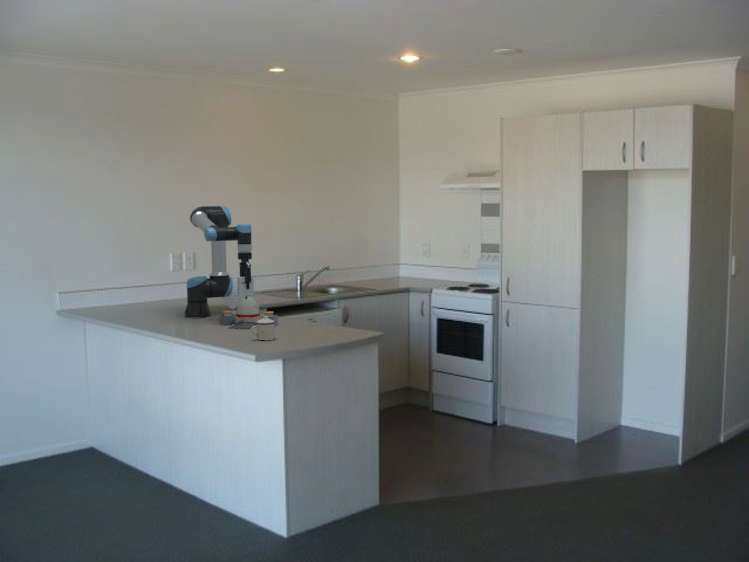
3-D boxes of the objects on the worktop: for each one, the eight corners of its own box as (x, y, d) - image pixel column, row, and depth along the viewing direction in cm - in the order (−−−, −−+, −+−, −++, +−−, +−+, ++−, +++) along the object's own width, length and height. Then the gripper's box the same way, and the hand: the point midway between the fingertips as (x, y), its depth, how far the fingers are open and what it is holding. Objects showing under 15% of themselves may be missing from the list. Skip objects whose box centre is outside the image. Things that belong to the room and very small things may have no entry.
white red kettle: (262, 314, 489) (261, 289, 487) (256, 317, 475) (256, 292, 473) (239, 314, 490) (238, 289, 488) (233, 317, 476) (232, 292, 475)
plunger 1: (225, 320, 454) (225, 310, 454) (233, 320, 454) (233, 310, 453) (222, 322, 450) (221, 311, 449) (230, 322, 449) (230, 311, 448)
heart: (211, 308, 517) (210, 273, 515) (233, 305, 527) (232, 271, 524) (232, 312, 495) (231, 276, 493) (254, 310, 505) (254, 274, 502)
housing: (225, 322, 458) (225, 313, 458) (278, 323, 453) (278, 314, 452) (217, 325, 447) (217, 316, 446) (272, 326, 441) (272, 317, 441)
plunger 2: (266, 321, 450) (266, 311, 450) (274, 321, 449) (274, 311, 449) (263, 323, 446) (263, 312, 445) (272, 323, 445) (272, 312, 444)
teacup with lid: (271, 337, 408) (271, 314, 407) (277, 340, 400) (277, 316, 399) (248, 339, 403) (248, 316, 402) (254, 342, 395) (253, 318, 394)
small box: (252, 295, 448) (251, 276, 447) (254, 296, 443) (253, 277, 442) (237, 295, 445) (237, 276, 444) (239, 297, 440) (239, 277, 439)
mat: (234, 326, 444) (234, 324, 444) (255, 326, 442) (255, 325, 442) (228, 328, 436) (228, 327, 436) (249, 329, 433) (249, 328, 433)
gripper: (256, 252, 435) (257, 295, 437) (246, 250, 451) (247, 292, 454) (243, 253, 431) (244, 296, 434) (233, 251, 448) (234, 293, 450)
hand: (245, 294), depth 444 cm, fingers closed on small box, 6 cm apart
